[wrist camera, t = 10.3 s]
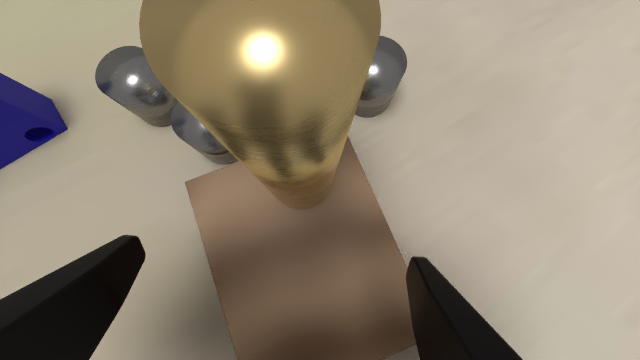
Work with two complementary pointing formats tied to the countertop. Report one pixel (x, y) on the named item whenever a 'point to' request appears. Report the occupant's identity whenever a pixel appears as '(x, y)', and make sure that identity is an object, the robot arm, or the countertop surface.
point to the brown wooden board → (304, 268)
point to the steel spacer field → (164, 109)
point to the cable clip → (25, 120)
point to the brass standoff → (268, 80)
